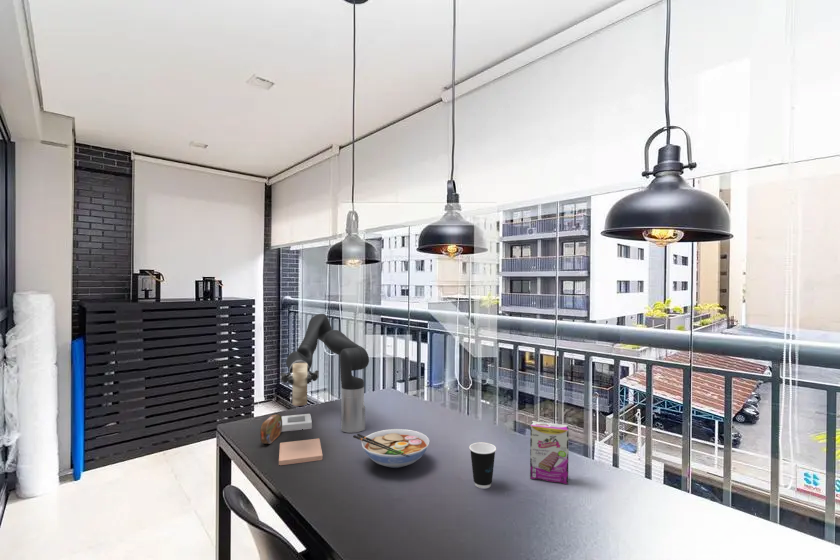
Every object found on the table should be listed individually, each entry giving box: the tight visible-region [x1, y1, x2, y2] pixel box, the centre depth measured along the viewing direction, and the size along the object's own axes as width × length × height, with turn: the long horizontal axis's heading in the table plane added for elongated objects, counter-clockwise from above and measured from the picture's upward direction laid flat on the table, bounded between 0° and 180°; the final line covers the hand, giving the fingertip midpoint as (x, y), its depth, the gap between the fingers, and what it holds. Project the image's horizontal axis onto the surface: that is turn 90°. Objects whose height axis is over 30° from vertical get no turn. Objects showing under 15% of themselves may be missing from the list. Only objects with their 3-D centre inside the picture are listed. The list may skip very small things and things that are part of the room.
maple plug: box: [291, 363, 308, 407], centre depth 143 cm, size 5×5×14 cm
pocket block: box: [281, 413, 313, 433], centre depth 171 cm, size 12×12×2 cm
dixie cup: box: [469, 441, 497, 490], centre depth 120 cm, size 8×8×11 cm
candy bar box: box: [529, 420, 570, 485], centre depth 124 cm, size 11×5×16 cm, turn 71°
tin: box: [259, 414, 282, 445], centre depth 156 cm, size 15×3×8 cm, turn 177°
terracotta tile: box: [278, 438, 324, 466], centre depth 143 cm, size 14×16×2 cm
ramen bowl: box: [352, 428, 431, 469], centre depth 135 cm, size 25×23×8 cm
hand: (300, 381), depth 141 cm, fingers closed on maple plug, 5 cm apart
